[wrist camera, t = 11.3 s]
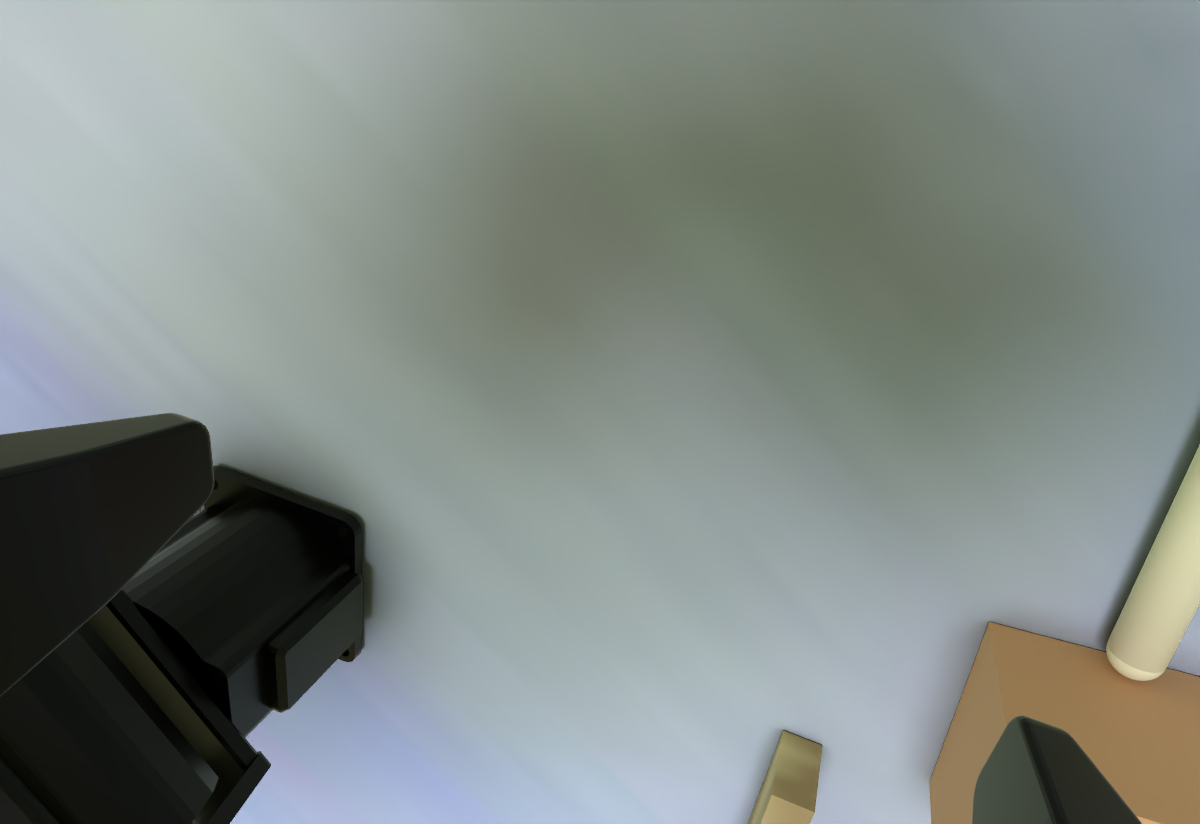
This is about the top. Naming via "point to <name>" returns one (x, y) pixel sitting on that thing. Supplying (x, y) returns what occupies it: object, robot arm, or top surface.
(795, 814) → the shelf lane
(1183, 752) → the block
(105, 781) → the robot arm
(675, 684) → the top surface
